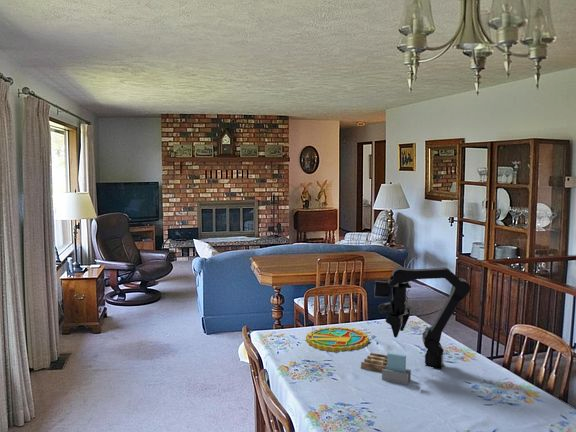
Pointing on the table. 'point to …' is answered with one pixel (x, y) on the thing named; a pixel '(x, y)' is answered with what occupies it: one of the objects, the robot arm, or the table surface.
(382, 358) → the offcut front
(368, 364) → the rack
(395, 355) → the tall sheet
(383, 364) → the offcut small
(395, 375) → the holder
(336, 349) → the decorative plaque
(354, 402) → the table surface
